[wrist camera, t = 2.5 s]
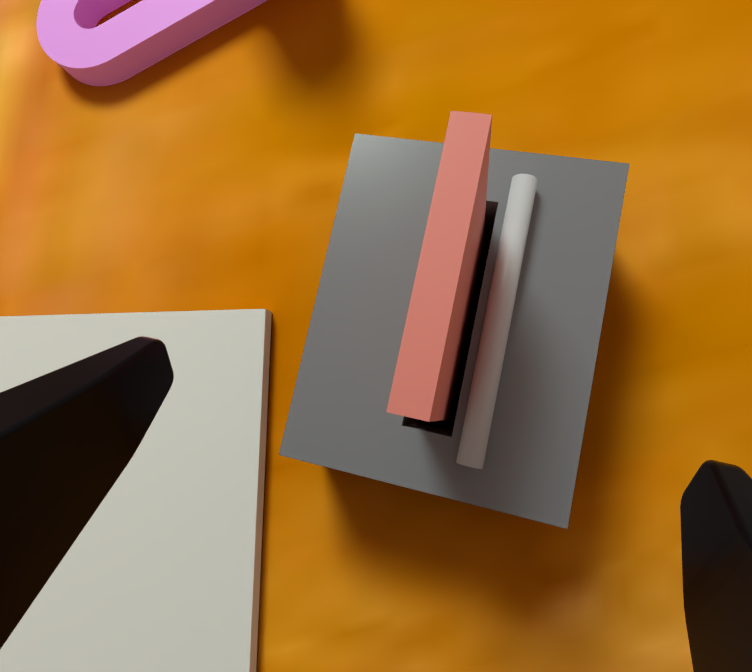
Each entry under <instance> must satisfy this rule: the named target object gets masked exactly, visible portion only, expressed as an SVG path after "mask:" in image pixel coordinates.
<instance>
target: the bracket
mask: <svg viewBox="0 0 752 672" xmlns="http://www.w3.org/2000/svg"><path fill="white" fill-rule="evenodd" d="M130 1H131V0H42V1H41V4H40V7H39V10H38V15H37V34H38V39H39V42H40V44H41V46H42V48H43V50H44V51H45V53H46V54H47V55H48V56H49V57H50V58H51V59H52V60H54V61H55V62H56V63H57V64H58V65H59V66H61V67H62V68H63V69H64V70H65V71H66V72H68V73H69V74H70V75H71V76H72V77H73V78H75V79H76V80H78V81H80V82H82V83H84V84H87V85H92V86H109V85H114V84H117V83H120V82H123V81H125V80H127V79H129V78H131V77H133V76H134V75H136V74H138V73H140V72H142V71H143V70H145V69H147V68H149V67H150V66H152V65H154V64H156V63H157V62H159V61H161V60H163V59H165V58H166V57H168V56H170V55H172V54H173V53H175V52H177V51H179V50H181V49H182V48H184V47H186V46H188V45H189V44H191V43H193V42H195V41H197V40H198V39H200V38H202V37H204V36H205V35H207V34H209V33H211V32H213V31H214V30H216V29H218V28H220V27H221V26H223V25H225V24H227V23H228V22H230V21H232V20H234V19H236V18H237V17H239V16H241V15H243V14H244V13H246V12H248V11H250V10H252V9H253V8H255V7H257V6H259V5H260V4H262V3H264V2H266V1H268V0H142V1H141V2H139V3H137V4H135V5H134V6H132V7H130V8H128V9H127V10H125V11H123V12H121V13H120V14H118V15H116V16H115V17H113V18H111V19H109V20H108V21H106V22H104V23H102V24H101V25H99V26H97V27H96V25H97V23H98V22H99V21H100V20H101V19H102V18H103V17H104V16H106V15H107V14H109V13H111V12H112V11H114V10H116V9H117V8H119V7H121V6H123V5H124V4H126V3H128V2H130Z"/></svg>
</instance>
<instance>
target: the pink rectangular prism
mask: <svg viewBox="0 0 752 672" xmlns="http://www.w3.org/2000/svg"><path fill="white" fill-rule="evenodd" d="M491 123H492V115H491V114H480V113H470V112H460V111H451V113H450V118H449V123H448V127H447V132H446V137H445V141H444V146H443V151H442V155H441V160H440V164H439V169H438V174H437V178H436V183H435V188H434V192H433V197H432V202H431V206H430V211H429V216H428V220H427V225H426V230H425V234H424V239H423V244H422V248H421V253H420V257H419V262H418V267H417V271H416V276H415V281H414V285H413V290H412V295H411V299H410V304H409V309H408V313H407V318H406V323H405V327H404V332H403V336H402V341H401V346H400V350H399V355H398V360H397V364H396V369H395V374H394V378H393V383H392V388H391V392H390V397H389V402H388V406H387V411H386V412H388V413H392V414H397V415H401V416H406V417H410V418H414V419H419V420H423V421H428V422H432V421H440V420H449V419H450V415H451V410H452V405H453V400H454V395H455V390H456V385H457V381H458V376H459V371H460V366H461V361H462V356H463V351H464V346H465V341H466V336H467V331H468V326H469V321H470V316H471V311H472V306H473V301H474V296H475V291H476V286H477V281H478V276H479V271H480V266H481V261H482V254H483V240H484V225H485V210H486V196H487V181H488V167H489V152H490V138H491Z"/></svg>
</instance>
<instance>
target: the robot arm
mask: <svg viewBox="0 0 752 672" xmlns="http://www.w3.org/2000/svg"><path fill="white" fill-rule="evenodd" d="M173 379H174V373H173V369H172V366H171V362H170V359H169V355H168V352H167V349H166V346H165V344H164V343H163V342H162V341H161V340H159V339H154V338H150V337H145V336H140V337H136V338H134V339H131V340H129V341H126V342H124V343H121V344H119V345H116V346H114V347H111V348H109V349H107V350H104V351H102V352H99V353H97V354H94V355H92V356H89V357H87V358H84V359H82V360H79V361H77V362H74V363H72V364H70V365H67V366H65V367H62V368H60V369H57V370H55V371H52V372H50V373H47V374H45V375H42V376H40V377H38V378H35V379H33V380H30V381H28V382H25V383H23V384H20V385H18V386H15V387H13V388H10V389H8V390H5V391H3V392H1V393H0V649H1V648H2V646H3V645H4V644H5V642H6V641H7V639H8V638H9V636H10V635H11V633H12V632H13V630H14V629H15V628H16V626H17V625H18V623H19V622H20V620H21V619H22V617H23V616H24V614H25V613H26V612H27V610H28V609H29V607H30V606H31V604H32V603H33V601H34V600H35V598H36V597H37V596H38V594H39V593H40V591H41V590H42V588H43V587H44V585H45V584H46V582H47V581H48V580H49V578H50V577H51V575H52V574H53V572H54V571H55V569H56V568H57V566H58V565H59V564H60V562H61V561H62V559H63V558H64V556H65V555H66V553H67V552H68V550H69V549H70V548H71V546H72V545H73V543H74V542H75V540H76V539H77V537H78V536H79V534H80V533H81V532H82V530H83V529H84V527H85V526H86V524H87V523H88V521H89V520H90V518H91V517H92V516H93V514H94V513H95V511H96V510H97V508H98V507H99V505H100V504H101V502H102V501H103V500H104V498H105V497H106V495H107V494H108V492H109V491H110V489H111V488H112V486H113V485H114V484H115V482H116V481H117V479H118V478H119V476H120V475H121V473H122V472H123V470H124V469H125V468H126V466H127V464H128V463H129V461H130V460H131V458H132V457H133V455H134V454H135V452H136V450H137V448H138V447H139V445H140V443H141V441H142V440H143V438H144V436H145V434H146V432H147V430H148V429H149V427H150V425H151V423H152V421H153V420H154V418H155V416H156V414H157V412H158V410H159V409H160V407H161V405H162V403H163V401H164V399H165V398H166V396H167V394H168V392H169V390H170V388H171V386H172V384H173ZM680 512H681V542H682V572H683V597H684V610H685V618H686V626H687V632H688V638H689V645H690V651H691V658H692V664H693V671H694V672H752V479H751V478H750V476H749V475H748V474H747V473H746V472H745V471H744V470H743V469H741V468H740V467H738V466H736V465H732V464H728V463H723V462H718V461H714V460H708V461H706V462H704V463H703V464H702V465H701V467H700V468H699V470H698V471H697V473H696V474H695V476H694V477H693V479H692V480H691V482H690V483H689V485H688V487H687V488H686V490H685V491H684V493H683V496H682V499H681V506H680Z"/></svg>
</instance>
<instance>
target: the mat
mask: <svg viewBox="0 0 752 672" xmlns="http://www.w3.org/2000/svg"><path fill="white" fill-rule="evenodd" d="M271 316H272V312H271V311H269V310H267V309H244V310H210V311H175V312H141V313H107V314H72V315H38V316H3V317H0V393H1V392H3V391H5V390H8V389H10V388H13V387H15V386H18V385H20V384H23V383H25V382H28V381H30V380H33V379H35V378H38V377H40V376H42V375H45V374H47V373H50V372H52V371H55V370H57V369H60V368H62V367H65V366H67V365H70V364H72V363H74V362H77V361H79V360H82V359H84V358H87V357H89V356H92V355H94V354H97V353H99V352H102V351H104V350H107V349H109V348H111V347H114V346H116V345H119V344H121V343H124V342H126V341H129V340H131V339H134V338H136V337H140V336H145V337H150V338H154V339H159V340H161V341H162V342H163V343H164V344H165V346H166V349H167V352H168V355H169V359H170V362H171V366H172V369H173V373H174V379H173V384H172V386H171V388H170V390H169V392H168V394H167V396H166V398H165V399H164V401H163V403H162V405H161V407H160V409H159V410H158V412H157V414H156V416H155V418H154V420H153V421H152V423H151V425H150V427H149V429H148V430H147V432H146V434H145V436H144V438H143V440H142V441H141V443H140V445H139V447H138V448H137V450H136V452H135V454H134V455H133V457H132V458H131V460H130V461H129V463H128V464H127V466H126V468H125V469H124V470H123V472H122V473H121V475H120V476H119V478H118V479H117V481H116V482H115V484H114V485H113V486H112V488H111V489H110V491H109V492H108V494H107V495H106V497H105V498H104V500H103V501H102V502H101V504H100V505H99V507H98V508H97V510H96V511H95V513H94V514H93V516H92V517H91V518H90V520H89V521H88V523H87V524H86V526H85V527H84V529H83V530H82V532H81V533H80V534H79V536H78V537H77V539H76V540H75V542H74V543H73V545H72V546H71V548H70V549H69V550H68V552H67V553H66V555H65V556H64V558H63V559H62V561H61V562H60V564H59V565H58V566H57V568H56V569H55V571H54V572H53V574H52V575H51V577H50V578H49V580H48V581H47V582H46V584H45V585H44V587H43V588H42V590H41V591H40V593H39V594H38V596H37V597H36V598H35V600H34V601H33V603H32V604H31V606H30V607H29V609H28V610H27V612H26V613H25V614H24V616H23V617H22V619H21V620H20V622H19V623H18V625H17V626H16V628H15V629H14V630H13V632H12V633H11V635H10V636H9V638H8V639H7V641H6V642H5V644H4V645H3V646H2V648H1V649H0V672H256V666H257V642H258V619H259V596H260V572H261V549H262V526H263V503H264V479H265V456H266V433H267V409H268V386H269V363H270V340H271Z"/></svg>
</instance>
